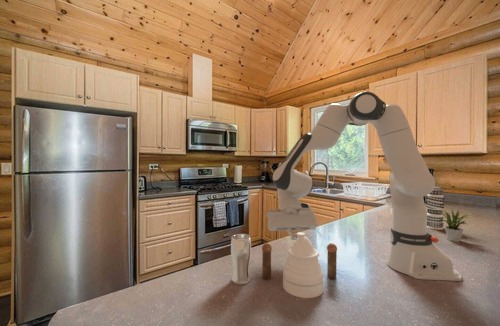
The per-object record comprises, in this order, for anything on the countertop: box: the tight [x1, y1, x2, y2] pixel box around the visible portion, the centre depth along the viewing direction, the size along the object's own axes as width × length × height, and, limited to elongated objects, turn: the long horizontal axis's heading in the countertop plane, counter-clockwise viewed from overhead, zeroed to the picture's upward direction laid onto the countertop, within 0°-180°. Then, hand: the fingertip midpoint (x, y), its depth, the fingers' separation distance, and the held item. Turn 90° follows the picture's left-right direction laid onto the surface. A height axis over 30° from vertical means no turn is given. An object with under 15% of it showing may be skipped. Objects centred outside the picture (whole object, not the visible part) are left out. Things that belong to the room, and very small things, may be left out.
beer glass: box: [230, 233, 252, 285], centre depth 81 cm, size 7×7×15 cm
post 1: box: [261, 243, 272, 281], centre depth 83 cm, size 3×3×12 cm
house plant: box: [440, 208, 470, 243], centre depth 121 cm, size 14×14×16 cm
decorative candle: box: [425, 186, 446, 231], centre depth 144 cm, size 9×9×25 cm
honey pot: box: [282, 231, 324, 299], centre depth 77 cm, size 13×13×18 cm
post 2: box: [326, 242, 338, 280], centre depth 83 cm, size 3×3×12 cm
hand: (295, 239), depth 93 cm, fingers closed
